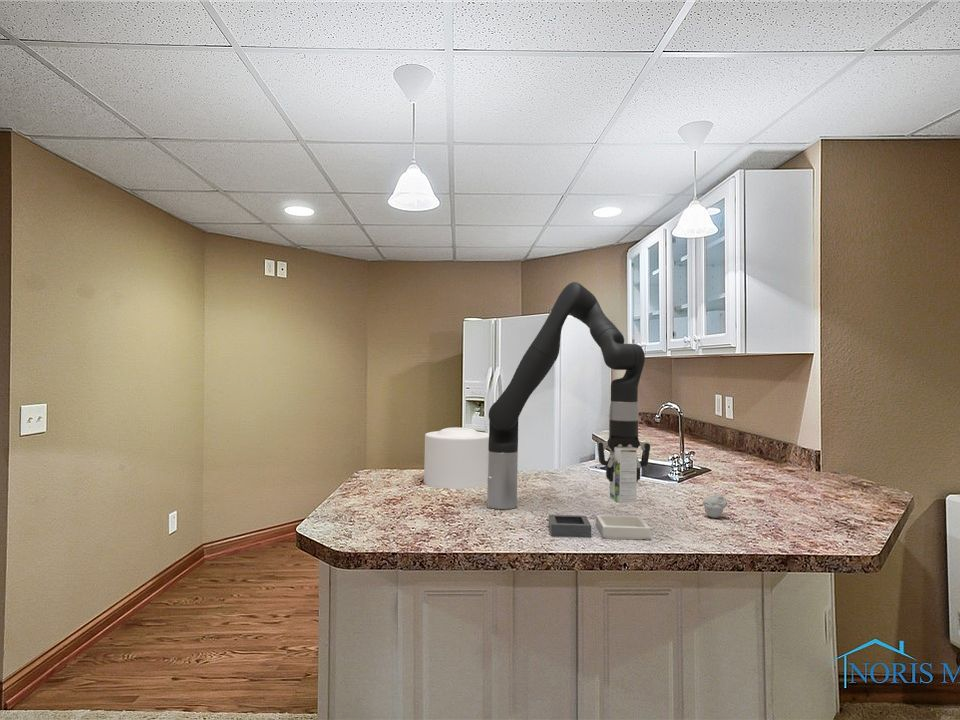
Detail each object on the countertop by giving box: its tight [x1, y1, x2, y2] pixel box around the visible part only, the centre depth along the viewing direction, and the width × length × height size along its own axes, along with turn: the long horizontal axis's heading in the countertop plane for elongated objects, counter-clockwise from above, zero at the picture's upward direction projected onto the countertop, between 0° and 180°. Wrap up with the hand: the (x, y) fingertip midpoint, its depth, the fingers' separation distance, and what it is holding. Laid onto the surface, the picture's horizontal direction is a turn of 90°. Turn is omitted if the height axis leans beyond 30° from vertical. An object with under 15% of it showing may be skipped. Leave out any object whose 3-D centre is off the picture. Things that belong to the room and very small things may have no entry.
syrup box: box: [609, 446, 638, 504], centre depth 155 cm, size 6×6×14 cm
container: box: [423, 426, 489, 490], centre depth 218 cm, size 25×25×20 cm
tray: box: [595, 514, 652, 541], centre depth 154 cm, size 12×12×3 cm
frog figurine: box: [702, 493, 729, 519], centre depth 172 cm, size 6×7×7 cm
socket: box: [548, 514, 592, 538], centre depth 155 cm, size 10×10×3 cm
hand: (623, 481), depth 155 cm, fingers closed on syrup box, 6 cm apart
